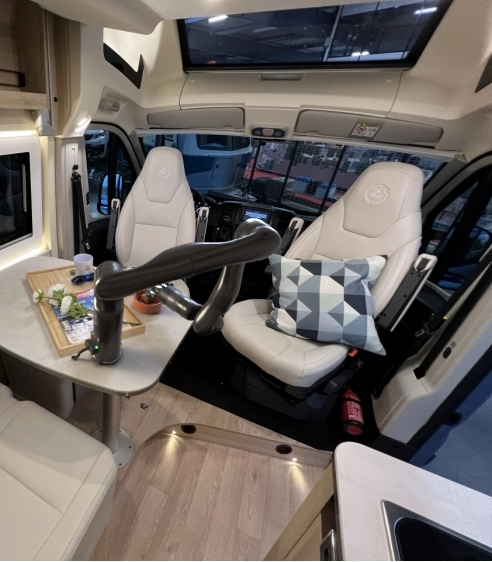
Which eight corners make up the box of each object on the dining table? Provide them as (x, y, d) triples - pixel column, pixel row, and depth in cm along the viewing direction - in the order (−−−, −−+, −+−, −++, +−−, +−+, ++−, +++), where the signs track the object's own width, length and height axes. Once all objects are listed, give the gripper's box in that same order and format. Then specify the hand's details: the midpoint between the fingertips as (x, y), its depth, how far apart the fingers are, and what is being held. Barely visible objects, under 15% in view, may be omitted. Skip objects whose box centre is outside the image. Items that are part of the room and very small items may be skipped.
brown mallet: (146, 305, 120) (150, 275, 113) (141, 301, 123) (144, 271, 116) (155, 302, 122) (159, 272, 115) (149, 298, 125) (153, 269, 118)
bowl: (144, 317, 116) (145, 308, 114) (127, 302, 125) (128, 293, 123) (167, 309, 122) (168, 300, 120) (149, 295, 131) (150, 287, 129)
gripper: (189, 286, 109) (160, 267, 122) (161, 295, 102) (133, 275, 115) (186, 302, 113) (157, 283, 125) (158, 313, 106) (131, 291, 118)
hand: (146, 279), depth 120 cm, fingers closed on brown mallet, 2 cm apart
